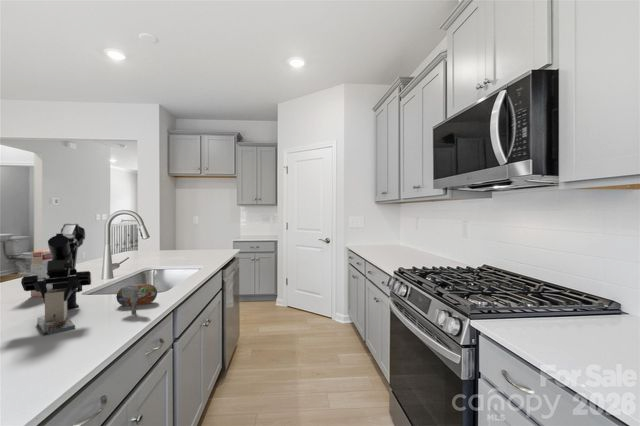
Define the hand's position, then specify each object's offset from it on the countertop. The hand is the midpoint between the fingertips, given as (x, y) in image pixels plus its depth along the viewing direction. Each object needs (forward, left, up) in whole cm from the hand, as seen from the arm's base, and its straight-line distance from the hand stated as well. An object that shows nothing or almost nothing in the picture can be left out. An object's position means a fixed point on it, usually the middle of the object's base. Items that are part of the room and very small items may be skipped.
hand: (55, 301), depth 106 cm
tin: (-8, +28, -9) cm, 31 cm away
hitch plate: (-1, 0, -9) cm, 9 cm away
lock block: (-1, +1, -7) cm, 7 cm away
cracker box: (-57, +6, -9) cm, 58 cm away
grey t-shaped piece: (+3, +23, -9) cm, 25 cm away
